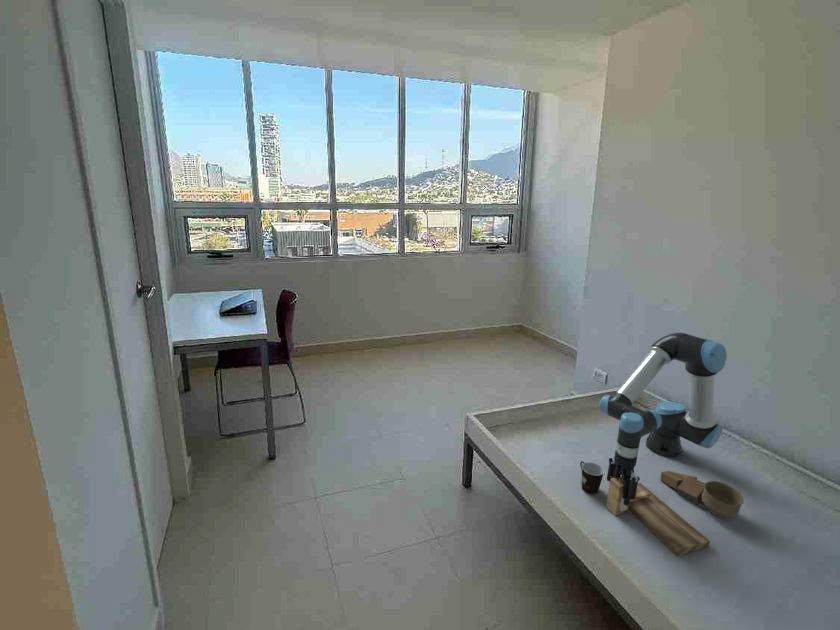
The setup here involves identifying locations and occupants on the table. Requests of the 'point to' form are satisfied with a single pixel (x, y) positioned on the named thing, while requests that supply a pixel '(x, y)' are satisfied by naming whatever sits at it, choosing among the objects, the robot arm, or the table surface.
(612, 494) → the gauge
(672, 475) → the brown wooden blocks
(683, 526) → the board
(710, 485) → the bowl
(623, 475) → the robot arm
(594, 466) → the coffee mug
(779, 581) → the table surface
